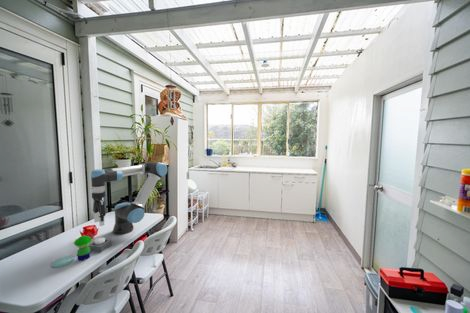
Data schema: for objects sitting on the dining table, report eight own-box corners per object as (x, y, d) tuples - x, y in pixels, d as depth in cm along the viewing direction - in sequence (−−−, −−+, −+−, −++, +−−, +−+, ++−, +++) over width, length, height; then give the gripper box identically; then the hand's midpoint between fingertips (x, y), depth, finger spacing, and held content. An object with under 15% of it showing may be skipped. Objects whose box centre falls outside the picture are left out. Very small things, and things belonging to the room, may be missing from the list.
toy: (91, 253, 129) (90, 231, 129) (93, 258, 123) (92, 236, 122) (73, 258, 123) (73, 235, 122) (75, 264, 117) (74, 240, 116)
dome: (99, 241, 139) (99, 237, 139) (107, 241, 139) (107, 237, 138) (92, 245, 133) (92, 241, 133) (100, 246, 133) (100, 241, 133)
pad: (72, 254, 127) (72, 254, 127) (76, 261, 121) (76, 260, 121) (49, 262, 119) (49, 262, 119) (52, 270, 112) (52, 269, 112)
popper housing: (99, 243, 142) (99, 238, 142) (111, 244, 141) (111, 239, 140) (87, 251, 132) (87, 245, 132) (100, 252, 131) (100, 246, 130)
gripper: (86, 190, 138) (88, 221, 139) (97, 195, 124) (98, 230, 125) (99, 188, 144) (100, 218, 145) (110, 193, 130) (111, 226, 131)
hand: (99, 223), depth 135 cm, fingers open, 9 cm apart
